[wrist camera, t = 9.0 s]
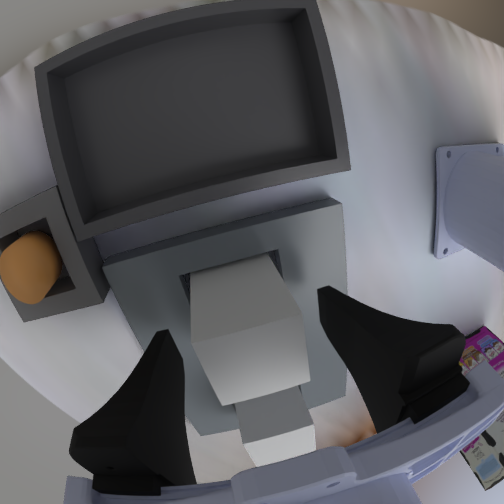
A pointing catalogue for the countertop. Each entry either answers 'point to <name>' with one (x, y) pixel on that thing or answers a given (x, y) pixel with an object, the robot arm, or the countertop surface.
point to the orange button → (31, 266)
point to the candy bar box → (500, 431)
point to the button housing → (72, 252)
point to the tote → (191, 110)
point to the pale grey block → (247, 329)
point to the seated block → (276, 426)
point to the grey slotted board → (227, 250)
